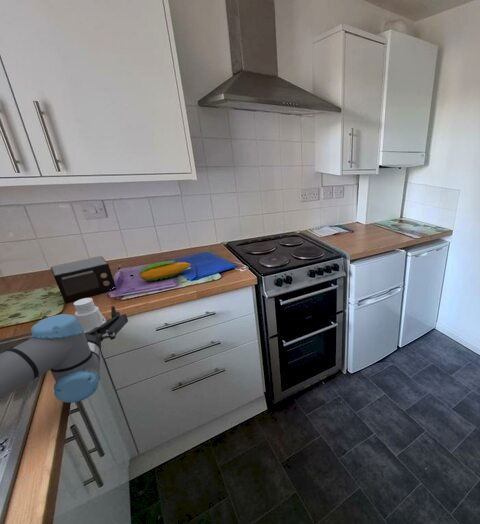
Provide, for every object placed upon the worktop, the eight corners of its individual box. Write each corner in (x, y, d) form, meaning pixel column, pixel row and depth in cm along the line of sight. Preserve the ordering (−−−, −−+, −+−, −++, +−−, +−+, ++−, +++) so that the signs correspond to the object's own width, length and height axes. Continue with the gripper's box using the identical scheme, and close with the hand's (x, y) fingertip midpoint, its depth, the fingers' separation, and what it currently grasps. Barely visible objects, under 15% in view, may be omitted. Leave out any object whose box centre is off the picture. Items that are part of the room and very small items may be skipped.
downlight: (72, 335, 94) (61, 308, 91) (85, 323, 101) (74, 297, 97) (101, 332, 96) (91, 305, 92) (112, 320, 102) (103, 294, 99)
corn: (135, 264, 128) (186, 253, 140) (140, 279, 131) (189, 268, 143) (138, 270, 123) (191, 259, 135) (143, 286, 126) (194, 274, 138)
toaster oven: (61, 293, 120) (49, 266, 115) (110, 280, 130) (101, 255, 126) (65, 304, 112) (53, 276, 107) (117, 290, 122) (108, 263, 118)
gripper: (20, 385, 73) (37, 341, 89) (142, 347, 86) (137, 314, 102) (7, 361, 70) (26, 319, 86) (135, 325, 83) (131, 295, 99)
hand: (87, 316), depth 94 cm, fingers open, 13 cm apart
